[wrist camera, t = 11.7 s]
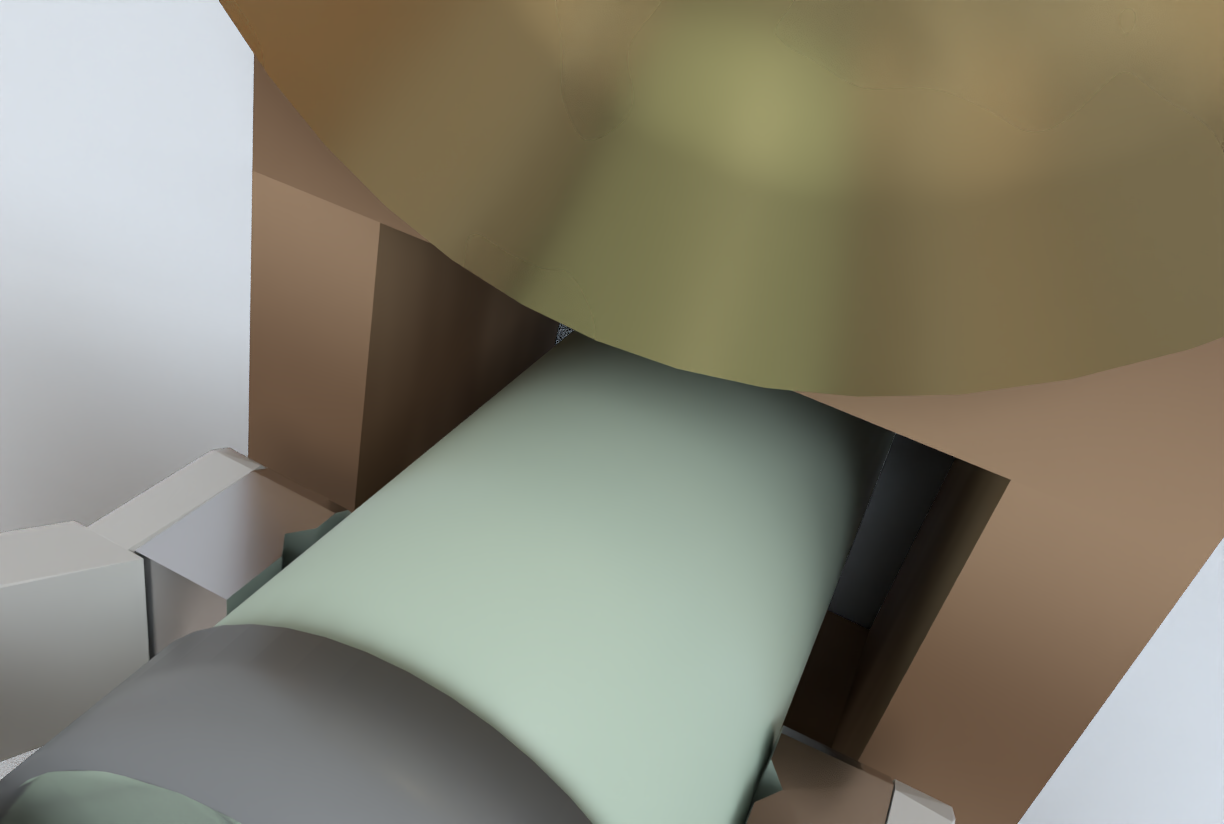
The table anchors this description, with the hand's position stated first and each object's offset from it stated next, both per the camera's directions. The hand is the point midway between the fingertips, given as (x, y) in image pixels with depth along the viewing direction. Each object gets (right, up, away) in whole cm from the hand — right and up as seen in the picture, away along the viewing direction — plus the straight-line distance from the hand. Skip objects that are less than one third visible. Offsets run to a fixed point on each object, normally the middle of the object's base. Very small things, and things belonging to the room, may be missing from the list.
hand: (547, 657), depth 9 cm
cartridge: (+3, +3, +5) cm, 6 cm away
